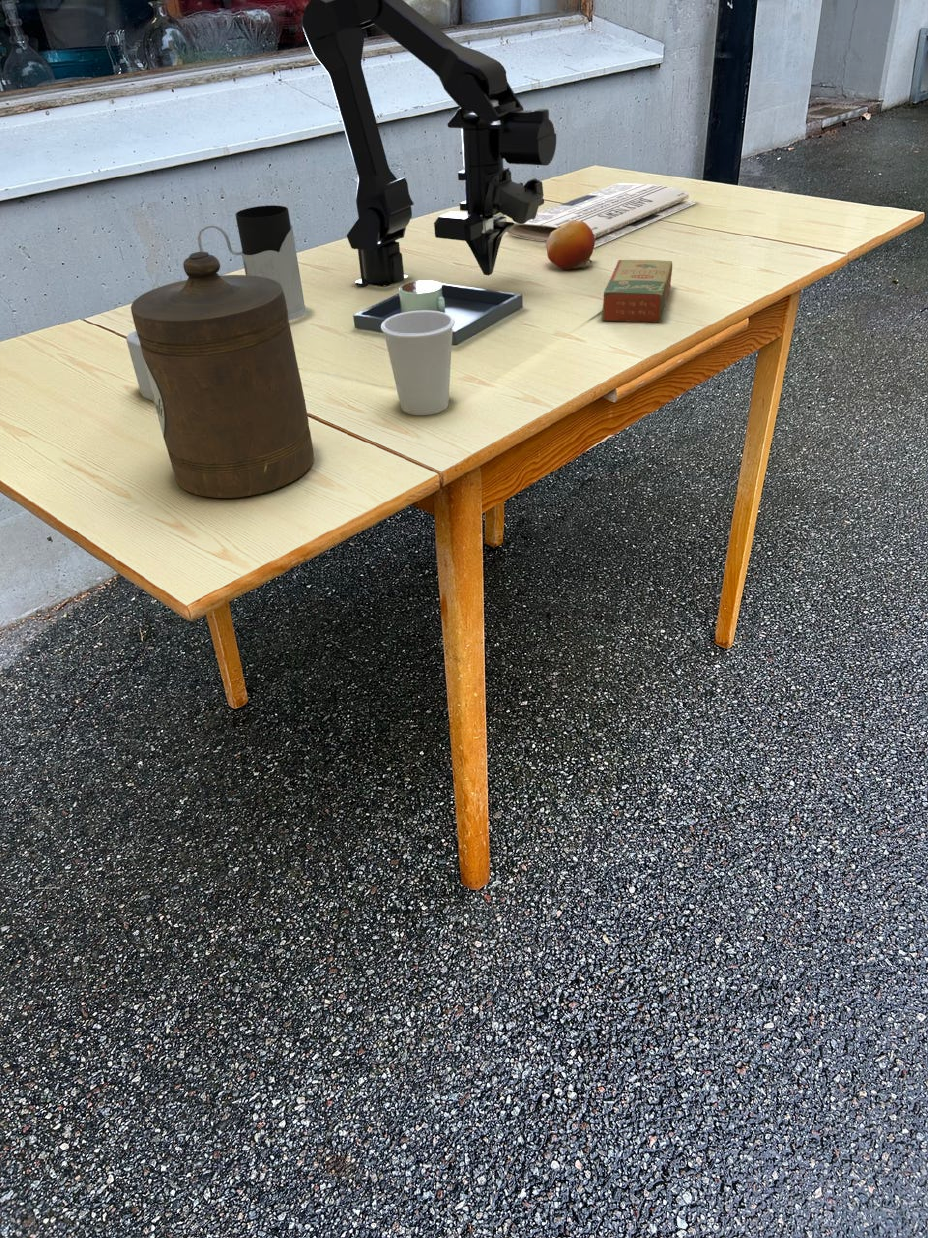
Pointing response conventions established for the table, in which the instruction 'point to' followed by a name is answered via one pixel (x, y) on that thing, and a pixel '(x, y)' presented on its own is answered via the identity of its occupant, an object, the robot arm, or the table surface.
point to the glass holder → (269, 251)
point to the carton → (637, 291)
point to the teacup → (421, 296)
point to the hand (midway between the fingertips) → (488, 274)
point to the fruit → (571, 245)
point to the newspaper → (608, 211)
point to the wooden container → (225, 381)
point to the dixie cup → (420, 359)
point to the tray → (451, 310)
